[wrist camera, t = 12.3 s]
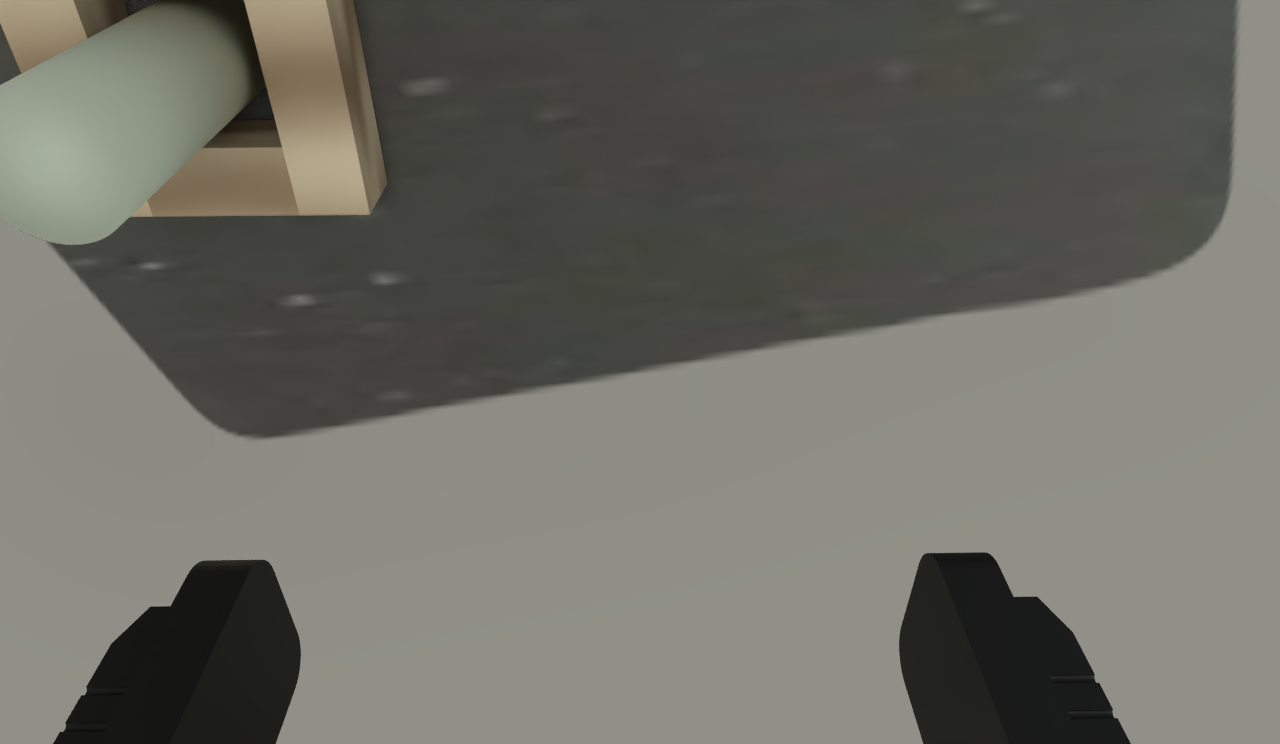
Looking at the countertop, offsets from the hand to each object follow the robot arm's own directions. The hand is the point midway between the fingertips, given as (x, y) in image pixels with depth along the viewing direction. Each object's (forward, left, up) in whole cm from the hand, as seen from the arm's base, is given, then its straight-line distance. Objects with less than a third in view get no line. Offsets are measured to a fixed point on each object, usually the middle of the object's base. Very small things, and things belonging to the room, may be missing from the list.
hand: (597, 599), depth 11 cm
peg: (0, -15, -26) cm, 30 cm away
